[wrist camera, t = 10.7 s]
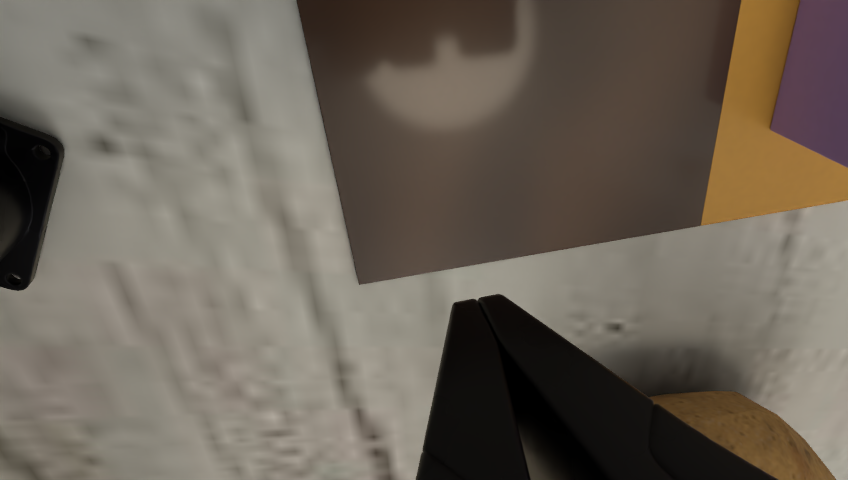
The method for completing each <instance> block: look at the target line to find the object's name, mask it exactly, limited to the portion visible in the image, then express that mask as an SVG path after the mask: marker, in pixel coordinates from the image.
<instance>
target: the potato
mask: <svg viewBox="0 0 848 480" xmlns="http://www.w3.org/2000/svg"><path fill="white" fill-rule="evenodd" d="M649 398H650V399H652V400H653V401H654V404H659V405H661V406H662V407H664V408H665V409H667V410H668V411H669V412H671V413H672V414H674V415H675V416H677V417H678V418H679V419H681V420H682V421H684V422H685V423H687V424H689V425H690V426H692V427H693V428H695V429H696V430H698V431H699V432H701V433H702V434H704V435H705V436H707V437H708V438H710V439H711V440H713V441H714V442H716V443H718V444H719V445H721V446H723V447H724V448H726V449H728V450H729V451H731V452H733V453H734V454H736V455H738V456H739V457H741V458H743V459H744V460H746V461H748V462H749V463H751V464H753V465H754V466H756V467H758V468H760V469H761V470H763V471H765V472H766V473H768V474H770V475H772V476H773V477H775V478H777V479H779V480H836V479H835V477H834V476H833V475H832V473H831V472H830V471H829V469H828V468H827V467H826V466H825V464H824V463H823V462H822V461H821V459H820V458H819V457H818V456H817V454H816V453H815V452H814V451H813V449H812V448H811V447H810V446H809V444H808V443H807V442H806V441H805V439H803V438H802V437H801V436H800V435H799V434H798V433H797V432H796V431H795V430H794V429H793V428H791V427H790V426H789V425H788V424H787V423H786V422H785V421H784V420H782V419H781V418H780V417H779V416H778V415H776V414H775V413H773V412H771V411H769V410H767V409H766V408H764V407H762V406H760V405H759V404H757V403H755V402H753V401H751V400H750V399H748V398H746V397H744V396H743V395H741V394H739V393H737V392H731V391H707V392H689V393H671V394H664V395H658V396H652V397H649Z"/></svg>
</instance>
